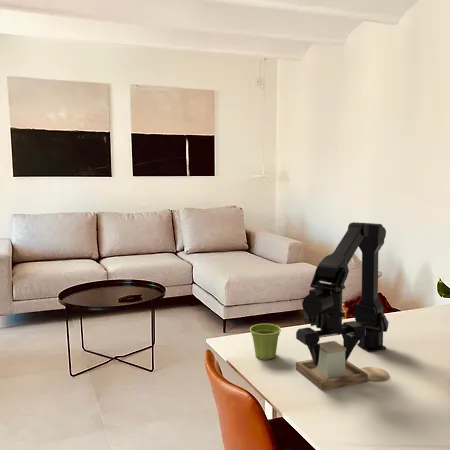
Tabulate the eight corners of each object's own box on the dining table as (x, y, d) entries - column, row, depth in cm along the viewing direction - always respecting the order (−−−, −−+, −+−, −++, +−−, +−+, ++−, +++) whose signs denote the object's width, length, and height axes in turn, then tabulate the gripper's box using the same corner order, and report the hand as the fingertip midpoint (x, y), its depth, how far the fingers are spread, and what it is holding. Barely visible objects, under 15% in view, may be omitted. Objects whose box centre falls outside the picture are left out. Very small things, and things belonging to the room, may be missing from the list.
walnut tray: (338, 361, 141) (338, 355, 141) (367, 381, 128) (367, 374, 128) (295, 369, 137) (295, 362, 136) (321, 390, 123) (321, 382, 123)
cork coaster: (370, 366, 138) (370, 364, 138) (394, 376, 131) (394, 374, 131) (352, 373, 133) (352, 371, 133) (375, 383, 127) (375, 382, 127)
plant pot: (279, 363, 141) (279, 334, 140) (247, 361, 143) (247, 333, 142) (282, 351, 150) (282, 324, 149) (252, 349, 152) (252, 322, 151)
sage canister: (334, 367, 136) (334, 340, 135) (345, 375, 131) (346, 347, 130) (316, 370, 134) (316, 343, 133) (327, 378, 129) (327, 351, 128)
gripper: (344, 296, 141) (343, 347, 143) (286, 303, 134) (286, 357, 136) (367, 306, 130) (366, 361, 132) (306, 314, 124) (306, 372, 126)
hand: (330, 362), depth 132 cm, fingers open, 9 cm apart
